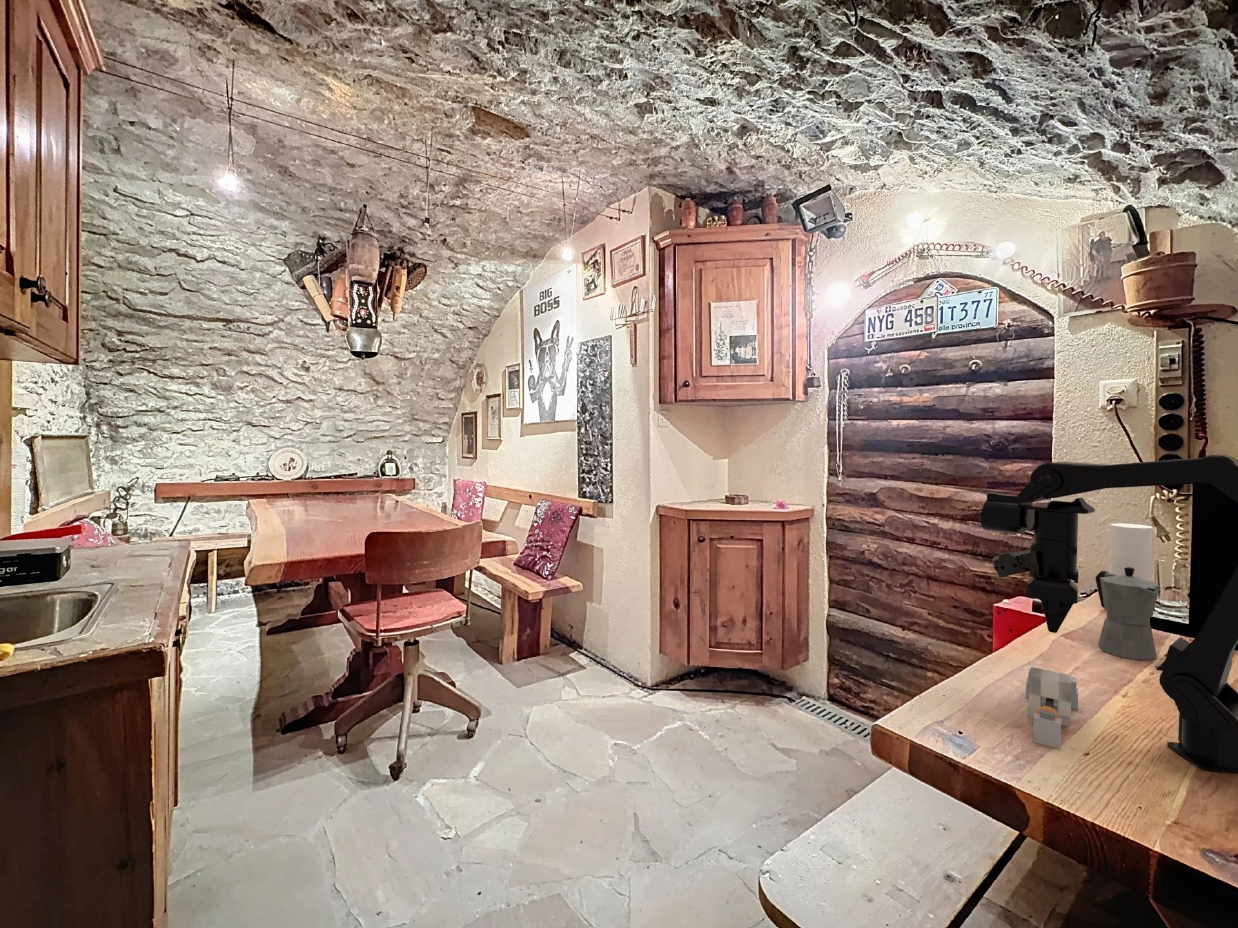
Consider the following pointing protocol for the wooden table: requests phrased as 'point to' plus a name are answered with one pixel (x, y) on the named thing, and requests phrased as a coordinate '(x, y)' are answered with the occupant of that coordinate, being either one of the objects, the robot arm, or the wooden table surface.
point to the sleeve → (1050, 692)
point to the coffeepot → (1127, 615)
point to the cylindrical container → (1131, 549)
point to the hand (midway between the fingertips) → (1052, 631)
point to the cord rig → (1050, 718)
